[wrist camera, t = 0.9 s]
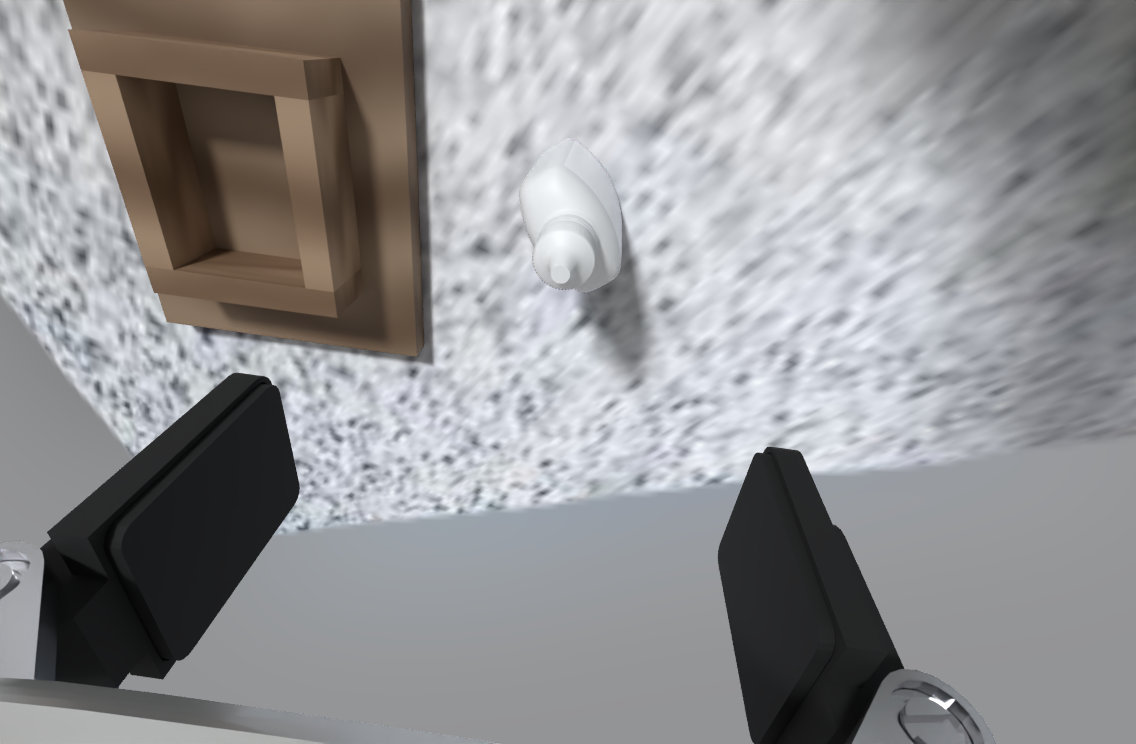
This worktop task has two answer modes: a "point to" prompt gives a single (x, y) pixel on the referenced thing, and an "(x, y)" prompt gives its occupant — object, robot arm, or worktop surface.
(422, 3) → the worktop surface
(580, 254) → the eye dropper bottle
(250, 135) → the bottle stand
